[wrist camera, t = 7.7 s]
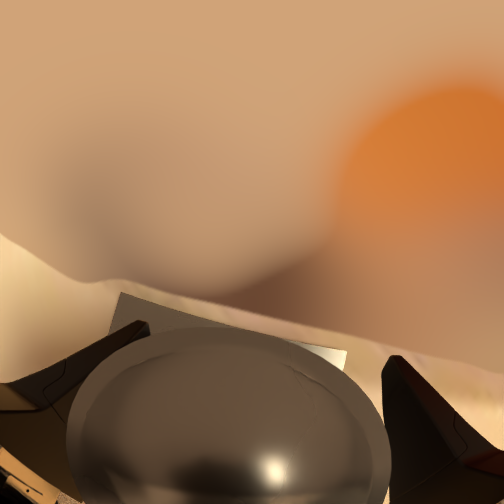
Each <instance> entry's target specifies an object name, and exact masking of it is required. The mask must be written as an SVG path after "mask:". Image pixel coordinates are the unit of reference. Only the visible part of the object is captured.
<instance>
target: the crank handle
mask: <svg viewBox="0 0 504 504" xmlns="http://www.w3.org/2000/svg"><path fill="white" fill-rule="evenodd" d="M66 449H67V456H68V462H69V467H70V470H71V473H72V476H73V479H74V482H75V484H76V487H77V489H78V491H79V493H80V495H81V497H82V499H83V500H84V502H85V504H383V502H384V499H385V496H386V493H387V490H388V487H389V482H390V475H391V449H390V444H389V439H388V434H387V432H386V429H385V426H384V424H383V421H382V419H381V417H380V415H379V413H378V412H377V410H376V408H375V407H374V405H373V403H372V402H371V400H370V399H369V398H368V397H367V395H366V394H365V393H364V392H363V391H362V389H361V388H360V387H359V386H358V385H357V384H356V383H355V382H354V381H353V380H352V379H351V378H349V377H348V376H347V375H346V374H345V373H344V372H343V371H342V370H340V369H339V368H337V367H336V366H334V365H333V364H331V363H330V362H328V361H327V360H325V359H324V358H323V357H321V356H319V355H317V354H315V353H313V352H311V351H309V350H307V349H305V348H303V347H301V346H299V345H296V344H294V343H291V342H288V341H285V340H283V339H280V338H277V337H274V336H270V335H266V334H262V333H258V332H254V331H249V330H241V329H233V328H226V327H195V328H184V329H175V330H171V331H166V332H162V333H157V334H153V335H150V336H148V337H145V338H142V339H140V340H137V341H134V342H132V343H130V344H128V345H127V346H125V347H123V348H121V349H119V350H117V351H116V352H114V353H113V354H112V355H110V356H109V357H108V358H106V359H105V360H103V361H102V362H101V363H100V364H99V365H98V366H97V367H96V368H95V369H94V370H93V371H92V372H91V373H90V374H89V376H88V377H87V378H86V380H85V381H84V383H83V384H82V386H81V387H80V388H79V390H78V392H77V395H76V397H75V399H74V401H73V403H72V406H71V410H70V413H69V417H68V422H67V430H66Z"/></svg>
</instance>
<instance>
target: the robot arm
mask: <svg viewBox="0 0 504 504" xmlns="http://www.w3.org/2000/svg"><path fill="white" fill-rule="evenodd" d="M150 335H151V333H150V327H149V323H148V322H147V321H143V320H136V321H134V322H132V323H130V324H128V325H127V326H125V327H123V328H121V329H119V330H117V331H115V332H114V333H112V334H110V335H108V336H106V337H104V338H102V339H101V340H99V341H97V342H95V343H93V344H91V345H89V346H88V347H86V348H84V349H82V350H80V351H78V352H76V353H75V354H73V355H71V356H69V357H67V359H66V358H65V359H63V360H61V361H60V362H58V363H56V364H54V365H52V366H50V367H48V368H45V369H43V370H41V371H39V372H36V373H34V374H31V375H29V376H26V377H24V378H21V379H19V380H16V381H14V382H10V383H0V504H58V502H57V498H58V496H59V494H60V492H61V491H62V492H63V493H65V494H67V495H68V496H70V497H72V498H73V499H75V500H77V501H79V502H80V503H82V502H83V499H82V497H81V495H80V493H79V491H78V489H77V487H76V484H75V482H74V479H73V476H72V473H71V470H70V467H69V462H68V456H67V449H66V430H67V422H68V417H69V413H70V410H71V406H72V403H73V401H74V399H75V397H76V395H77V392H78V390H79V388H80V387H81V386H82V384H83V383H84V381H85V380H86V378H87V377H88V376H89V374H90V373H91V372H92V371H93V370H94V369H95V368H96V367H97V366H98V365H99V364H100V363H101V362H102V361H103V360H105V359H106V358H108V357H109V356H110V355H112V354H113V353H114V352H116V351H117V350H119V349H121V348H123V347H125V346H127V345H128V344H130V343H132V342H134V341H137V340H140V339H142V338H145V337H148V336H150ZM381 379H382V406H383V417H384V425H385V429H386V432H387V434H388V439H389V444H390V449H391V475H390V482H389V500H390V502H389V504H504V451H503V450H500V449H497V448H496V447H494V446H493V445H492V444H491V443H490V442H488V441H487V440H486V439H485V438H484V437H483V436H482V435H480V434H479V433H478V432H477V431H476V430H475V429H474V428H473V427H471V426H470V425H469V424H468V423H467V422H466V421H465V420H464V419H463V418H462V417H461V416H460V415H459V414H458V413H457V412H456V411H455V410H454V408H453V407H452V406H451V405H450V404H449V403H448V402H447V401H446V400H445V399H444V398H443V397H442V396H441V395H440V394H439V393H438V392H437V391H436V390H435V389H434V388H433V387H432V386H431V385H430V384H429V383H428V382H427V381H426V380H425V379H424V378H423V377H422V376H421V375H420V374H419V373H418V372H417V371H416V370H415V369H414V368H413V367H412V366H411V365H410V364H409V363H408V362H407V361H406V360H405V359H404V358H403V357H402V356H400V355H391V356H390V357H389V359H388V361H387V362H386V364H385V366H384V368H383V370H382V374H381Z"/></svg>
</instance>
